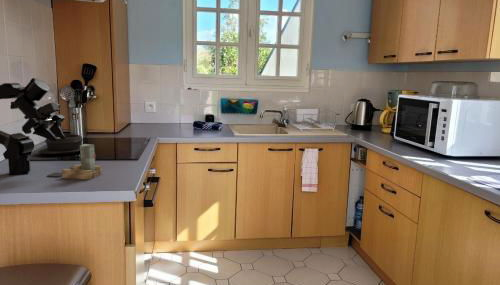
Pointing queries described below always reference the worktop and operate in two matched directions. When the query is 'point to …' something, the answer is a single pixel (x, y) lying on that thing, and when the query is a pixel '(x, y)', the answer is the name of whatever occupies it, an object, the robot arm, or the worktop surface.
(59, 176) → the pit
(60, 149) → the casserole
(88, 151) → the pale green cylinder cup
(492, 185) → the worktop surface
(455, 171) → the worktop surface
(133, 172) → the worktop surface
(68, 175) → the tunnel
